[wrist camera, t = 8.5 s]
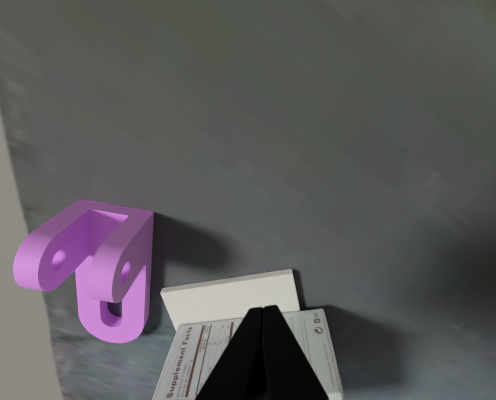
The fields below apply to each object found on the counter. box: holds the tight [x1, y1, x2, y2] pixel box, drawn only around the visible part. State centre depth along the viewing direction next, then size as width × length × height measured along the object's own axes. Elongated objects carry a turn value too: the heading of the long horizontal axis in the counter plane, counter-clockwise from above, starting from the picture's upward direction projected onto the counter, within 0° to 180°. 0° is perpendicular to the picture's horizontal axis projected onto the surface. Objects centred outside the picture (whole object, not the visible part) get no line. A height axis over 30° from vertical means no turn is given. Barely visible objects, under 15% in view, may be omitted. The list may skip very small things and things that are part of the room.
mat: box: [160, 269, 300, 332], centre depth 27 cm, size 11×14×1 cm
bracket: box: [13, 199, 154, 343], centre depth 22 cm, size 13×6×7 cm, turn 170°
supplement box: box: [152, 309, 344, 400], centre depth 23 cm, size 7×7×13 cm
